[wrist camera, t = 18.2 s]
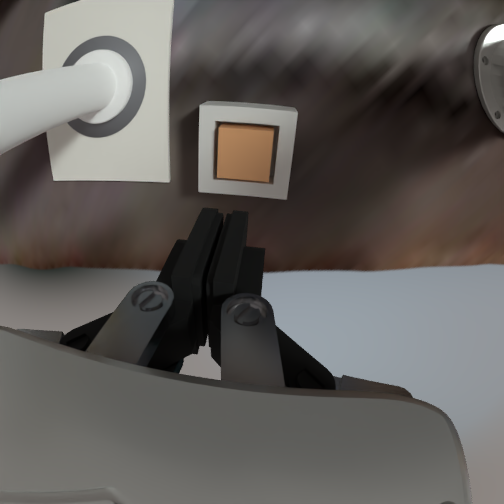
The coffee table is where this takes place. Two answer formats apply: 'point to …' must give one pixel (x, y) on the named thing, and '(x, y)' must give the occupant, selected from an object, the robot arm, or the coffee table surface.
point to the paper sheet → (142, 96)
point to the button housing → (248, 114)
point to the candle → (63, 96)
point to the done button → (244, 151)
